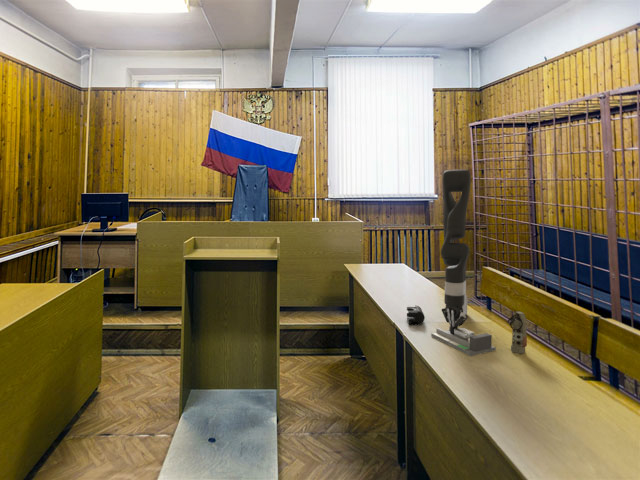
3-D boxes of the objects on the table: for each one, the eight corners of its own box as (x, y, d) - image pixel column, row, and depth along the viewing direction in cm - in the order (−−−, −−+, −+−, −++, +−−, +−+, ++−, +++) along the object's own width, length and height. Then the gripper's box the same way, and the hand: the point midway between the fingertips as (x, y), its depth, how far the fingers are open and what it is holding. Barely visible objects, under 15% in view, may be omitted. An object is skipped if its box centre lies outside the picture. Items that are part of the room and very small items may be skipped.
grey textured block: (462, 337, 148) (463, 327, 148) (477, 343, 141) (477, 333, 141) (454, 339, 147) (454, 329, 146) (467, 345, 140) (468, 335, 139)
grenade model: (502, 350, 138) (503, 311, 136) (520, 349, 138) (521, 310, 137) (513, 357, 131) (514, 316, 130) (531, 356, 132) (533, 315, 131)
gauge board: (454, 331, 158) (454, 317, 158) (495, 350, 138) (496, 334, 137) (431, 336, 154) (431, 321, 153) (470, 356, 134) (470, 339, 133)
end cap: (424, 326, 167) (424, 311, 166) (408, 325, 168) (408, 311, 167) (421, 319, 177) (421, 305, 176) (406, 318, 178) (406, 305, 177)
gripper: (474, 295, 143) (473, 338, 145) (450, 288, 155) (450, 328, 157) (458, 297, 140) (457, 341, 142) (436, 290, 153) (435, 330, 154)
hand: (453, 334), depth 150 cm, fingers closed
